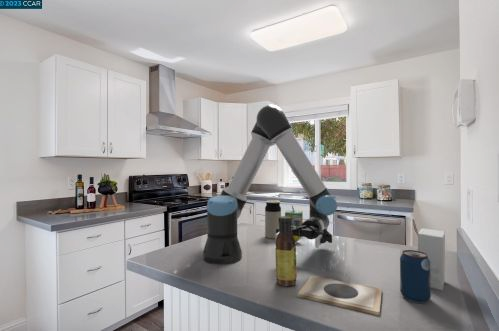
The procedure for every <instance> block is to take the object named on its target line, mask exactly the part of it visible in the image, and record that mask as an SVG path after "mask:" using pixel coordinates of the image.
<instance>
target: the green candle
mask: <svg viewBox="0 0 499 331" xmlns="http://www.w3.org/2000/svg"><path fill="white" fill-rule="evenodd" d="M291 209H292V210H285V213H284V216H288V217H291V218H292V222H291V223H294V224H293V225H294V226H296V225H300V226H301V225H302V223H303V222H304V219H303V212H304V211H303V210H295V209H294V206H293V204H291ZM293 225H292V226H293ZM296 227H297V226H296Z"/></svg>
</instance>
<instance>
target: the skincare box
mask: <svg viewBox="0 0 499 331" xmlns="http://www.w3.org/2000/svg"><path fill="white" fill-rule="evenodd" d="M417 251H420V252H424V253H426V254H427V257H428V259H429V261H430V285H431V289H435V290H440V291H443V290H444V286H445V273H446V272H445V269H446V268H445V266H446V265H445V264H446V261H445V260H446V259H445V258H446V231H445V230H439V229H438V230H437V229H431V228H430V229H429V228H423V227H422V228H421V229H420V230H419V231H418V232H417Z"/></svg>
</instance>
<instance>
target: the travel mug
mask: <svg viewBox="0 0 499 331" xmlns="http://www.w3.org/2000/svg"><path fill="white" fill-rule="evenodd" d="M265 203H266V204H265V207H264V209H265V210H264V230H265V231H264V236H265V238H268V239H270V238H272V239H273V238H274V239H275V234H276V229H279V217H282V207H281V206H280V204H281V201H280V200H278V199H277V200H274V199H272V200H271V199H270V200H269V199H268V200H266V201H265ZM274 239H273V240H274Z"/></svg>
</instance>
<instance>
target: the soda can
mask: <svg viewBox="0 0 499 331" xmlns="http://www.w3.org/2000/svg"><path fill="white" fill-rule="evenodd" d="M399 274H400V275H399V278H400V279H399V281H400V282H399V287H400V288H399V289H400V293H401V295H402V296H403V298H404V299H406V300H407V301H409V302H412V303H416V304H426V303H428V301H429V300H430V299H431V298H432V295H431V294H432V292H431V290H432V288H431V285H430V261H429V259H428V257H427V254H426V253H424V252H420V251H418V250H413V249H405V250H402V254H401V255H400V257H399Z"/></svg>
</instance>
